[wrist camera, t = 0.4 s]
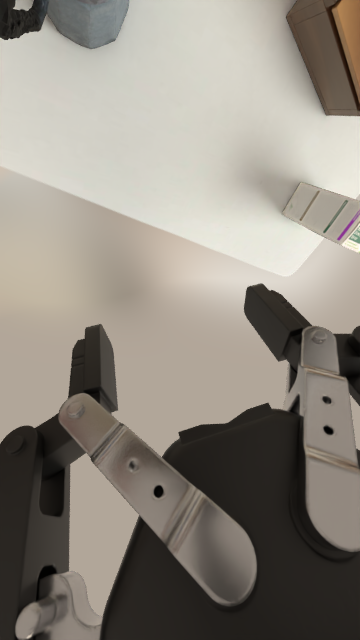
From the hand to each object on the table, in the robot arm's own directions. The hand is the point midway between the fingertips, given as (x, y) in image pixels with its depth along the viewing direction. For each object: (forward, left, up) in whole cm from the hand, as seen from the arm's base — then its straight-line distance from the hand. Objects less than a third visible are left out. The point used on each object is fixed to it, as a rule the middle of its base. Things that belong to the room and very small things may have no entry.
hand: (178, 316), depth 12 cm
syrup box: (+7, +31, -29) cm, 43 cm away
